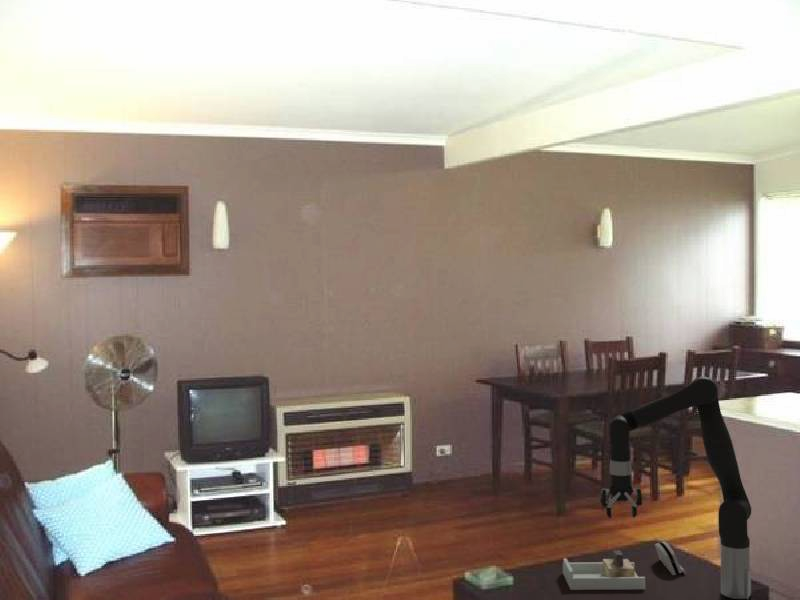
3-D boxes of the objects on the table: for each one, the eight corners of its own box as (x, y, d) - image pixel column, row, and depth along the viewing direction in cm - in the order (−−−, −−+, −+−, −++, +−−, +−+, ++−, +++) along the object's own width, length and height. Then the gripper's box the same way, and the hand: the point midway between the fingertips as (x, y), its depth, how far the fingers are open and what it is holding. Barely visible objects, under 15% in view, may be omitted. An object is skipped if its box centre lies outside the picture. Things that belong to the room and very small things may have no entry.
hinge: (686, 575, 303) (677, 549, 303) (674, 579, 304) (664, 554, 303) (672, 559, 320) (663, 535, 320) (661, 563, 320) (652, 539, 320)
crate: (627, 572, 304) (627, 547, 303) (634, 582, 294) (634, 557, 293) (602, 572, 304) (602, 548, 304) (608, 582, 294) (608, 557, 294)
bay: (633, 572, 307) (633, 556, 307) (645, 589, 291) (645, 572, 291) (562, 573, 307) (562, 557, 307) (570, 589, 292) (570, 572, 291)
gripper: (637, 469, 302) (638, 513, 302) (598, 470, 302) (599, 514, 302) (643, 474, 294) (644, 519, 295) (603, 475, 294) (603, 520, 295)
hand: (621, 517), depth 298 cm, fingers open, 8 cm apart
